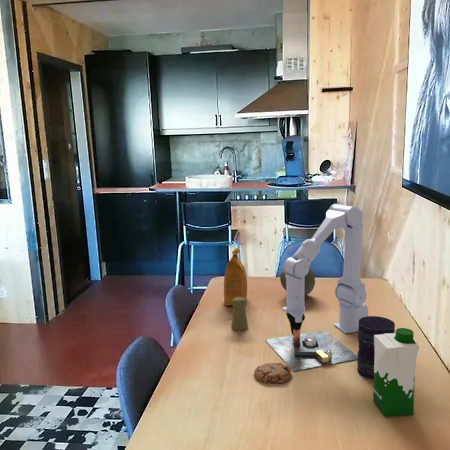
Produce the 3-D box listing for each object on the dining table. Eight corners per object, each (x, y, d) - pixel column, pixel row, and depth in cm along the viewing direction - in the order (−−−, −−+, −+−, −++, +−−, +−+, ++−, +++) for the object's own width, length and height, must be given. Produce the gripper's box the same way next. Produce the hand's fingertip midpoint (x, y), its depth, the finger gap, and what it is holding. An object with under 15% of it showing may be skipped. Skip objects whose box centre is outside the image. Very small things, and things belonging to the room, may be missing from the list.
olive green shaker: (246, 331, 158) (246, 301, 156) (229, 330, 160) (229, 300, 157) (249, 324, 164) (248, 295, 162) (232, 323, 165) (232, 295, 163)
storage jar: (374, 384, 122) (376, 333, 119) (349, 369, 131) (350, 320, 128) (401, 375, 127) (403, 325, 124) (374, 360, 135) (376, 313, 132)
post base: (323, 330, 157) (324, 321, 156) (360, 359, 136) (360, 348, 136) (265, 340, 151) (264, 331, 150) (293, 371, 130) (293, 361, 130)
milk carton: (419, 417, 108) (423, 338, 104) (382, 419, 107) (385, 341, 103) (401, 396, 116) (405, 323, 113) (367, 399, 116) (370, 325, 112)
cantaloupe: (290, 289, 201) (290, 256, 198) (320, 295, 192) (320, 261, 190) (274, 298, 189) (274, 264, 187) (305, 305, 181) (305, 269, 178)
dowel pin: (330, 358, 137) (330, 349, 136) (332, 360, 135) (332, 351, 135) (325, 358, 136) (325, 350, 136) (328, 361, 135) (328, 352, 134)
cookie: (248, 373, 131) (248, 363, 130) (280, 365, 135) (280, 355, 134) (264, 389, 122) (264, 379, 121) (298, 380, 126) (298, 370, 125)
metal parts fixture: (291, 339, 149) (291, 322, 148) (325, 340, 148) (325, 322, 147) (295, 362, 134) (295, 343, 133) (332, 362, 133) (332, 343, 132)
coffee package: (250, 297, 192) (249, 247, 188) (246, 307, 180) (244, 254, 176) (227, 296, 194) (225, 246, 190) (221, 306, 182) (219, 253, 178)
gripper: (280, 287, 151) (280, 325, 154) (285, 303, 137) (285, 344, 140) (301, 287, 151) (301, 325, 154) (308, 302, 137) (308, 344, 139)
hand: (295, 334), depth 147 cm, fingers closed
